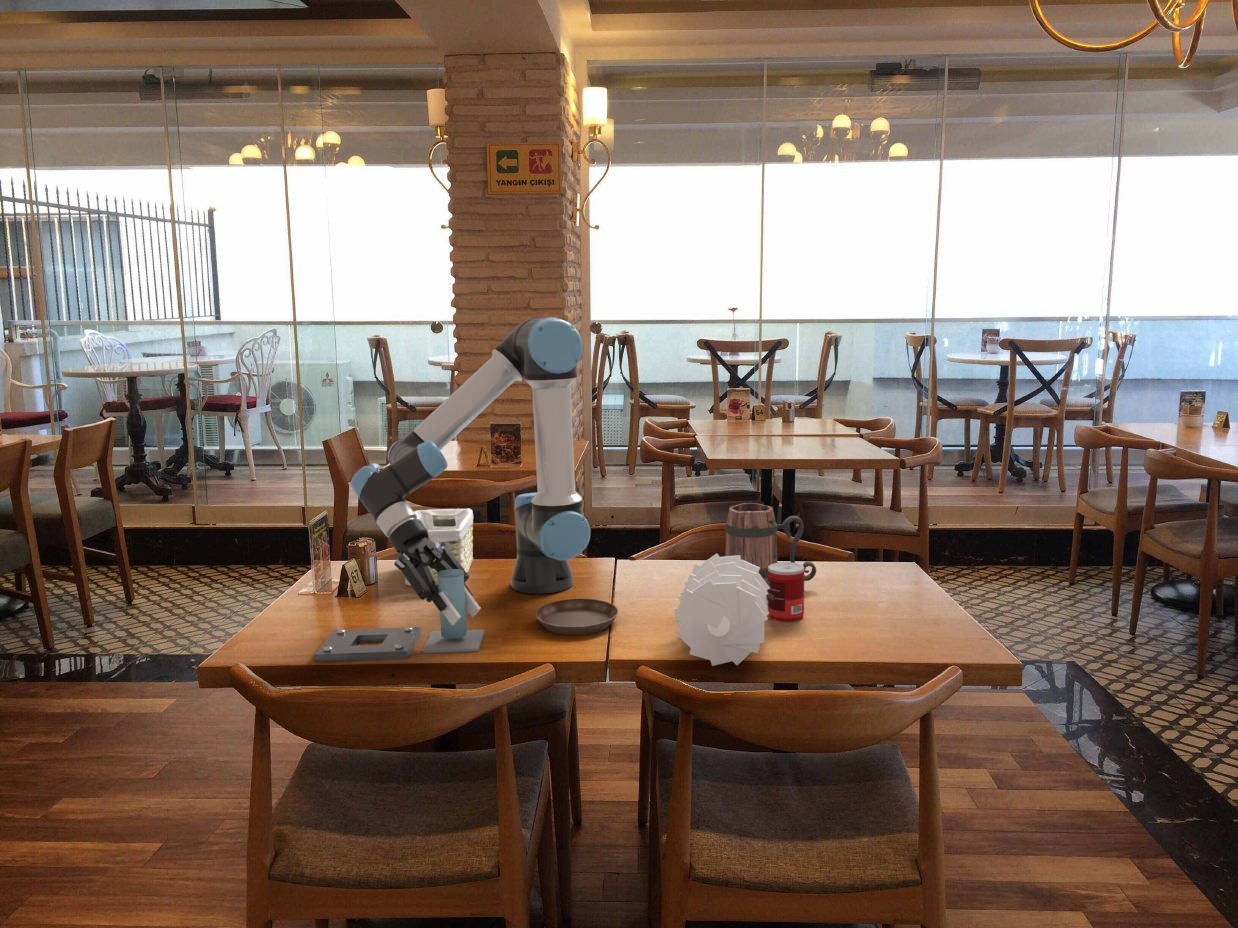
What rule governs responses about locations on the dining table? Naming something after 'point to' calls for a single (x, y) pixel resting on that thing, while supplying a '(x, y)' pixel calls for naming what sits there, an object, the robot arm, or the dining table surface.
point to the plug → (453, 602)
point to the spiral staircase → (723, 610)
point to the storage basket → (450, 534)
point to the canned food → (786, 591)
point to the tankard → (759, 537)
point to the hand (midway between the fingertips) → (466, 616)
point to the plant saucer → (577, 616)
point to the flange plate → (345, 642)
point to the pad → (454, 642)
